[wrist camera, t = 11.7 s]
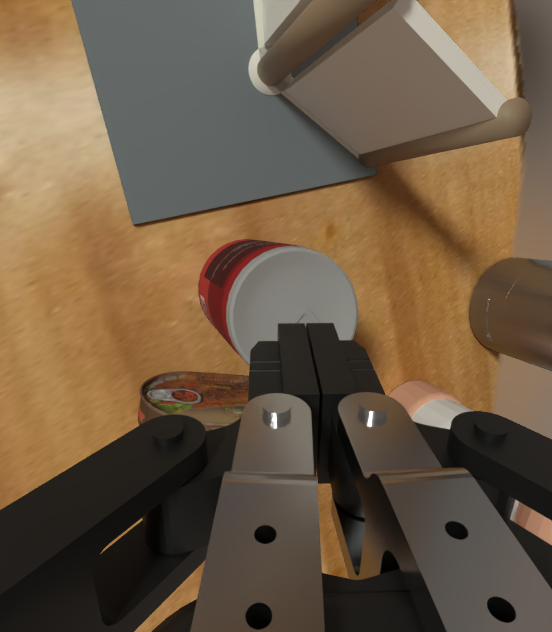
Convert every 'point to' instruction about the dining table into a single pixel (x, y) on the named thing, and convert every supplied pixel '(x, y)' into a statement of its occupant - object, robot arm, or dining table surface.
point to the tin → (195, 397)
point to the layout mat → (202, 107)
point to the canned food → (273, 292)
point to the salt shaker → (439, 411)
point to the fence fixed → (390, 82)
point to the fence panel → (280, 17)
